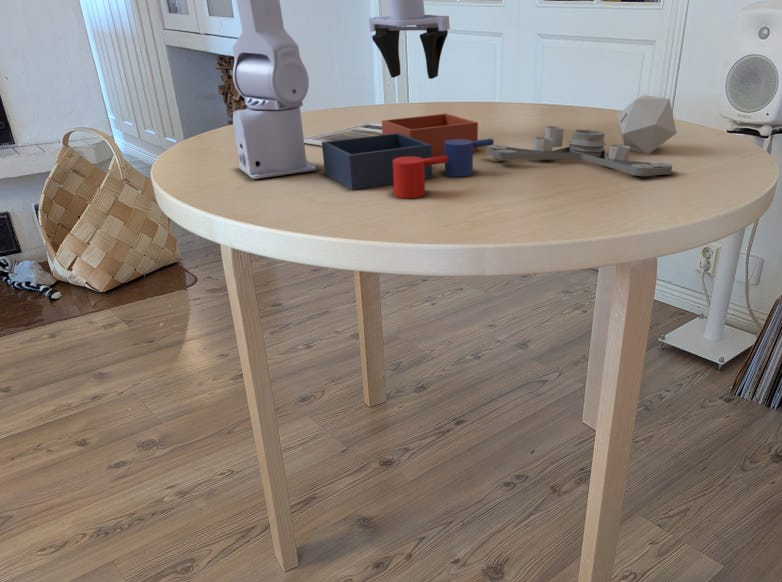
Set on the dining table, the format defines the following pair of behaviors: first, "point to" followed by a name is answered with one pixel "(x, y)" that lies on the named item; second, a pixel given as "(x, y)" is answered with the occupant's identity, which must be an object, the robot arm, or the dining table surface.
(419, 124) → the red bin
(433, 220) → the dining table surface
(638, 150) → the die
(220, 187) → the dining table surface
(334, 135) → the grey striped panel
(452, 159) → the blue scoop
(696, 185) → the dining table surface
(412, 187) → the red scoop
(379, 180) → the blue bin
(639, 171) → the pulley system
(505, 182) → the dining table surface
